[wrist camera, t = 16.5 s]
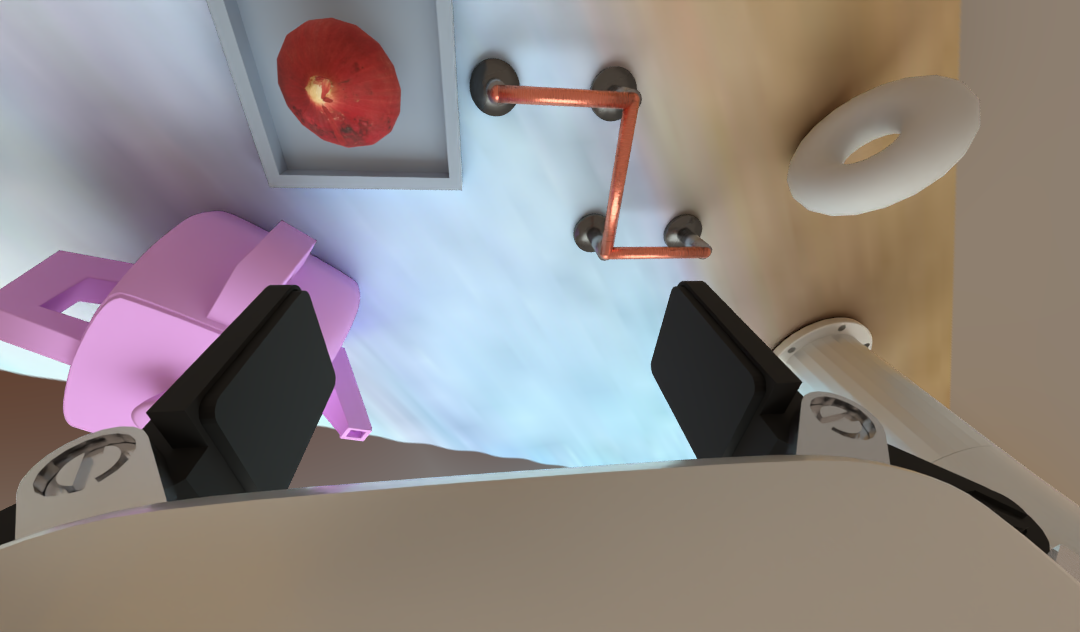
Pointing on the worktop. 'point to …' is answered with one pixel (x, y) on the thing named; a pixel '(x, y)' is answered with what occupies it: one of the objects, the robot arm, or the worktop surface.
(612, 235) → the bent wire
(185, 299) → the teakettle
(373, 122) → the onion
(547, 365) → the worktop surface
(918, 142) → the donut
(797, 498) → the robot arm
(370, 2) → the dish
